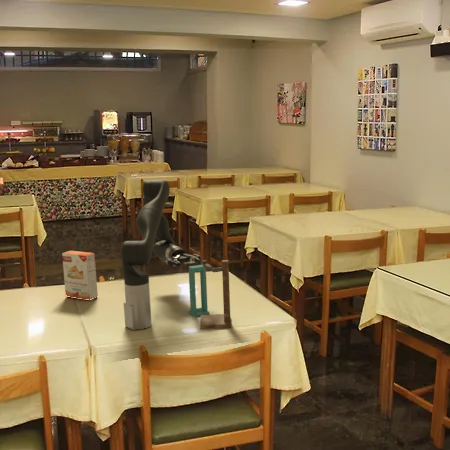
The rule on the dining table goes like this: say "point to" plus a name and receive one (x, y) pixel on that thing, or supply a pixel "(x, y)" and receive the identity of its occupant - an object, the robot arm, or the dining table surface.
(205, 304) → the teal loop
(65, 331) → the dining table surface
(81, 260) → the cracker box
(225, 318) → the hook stand
